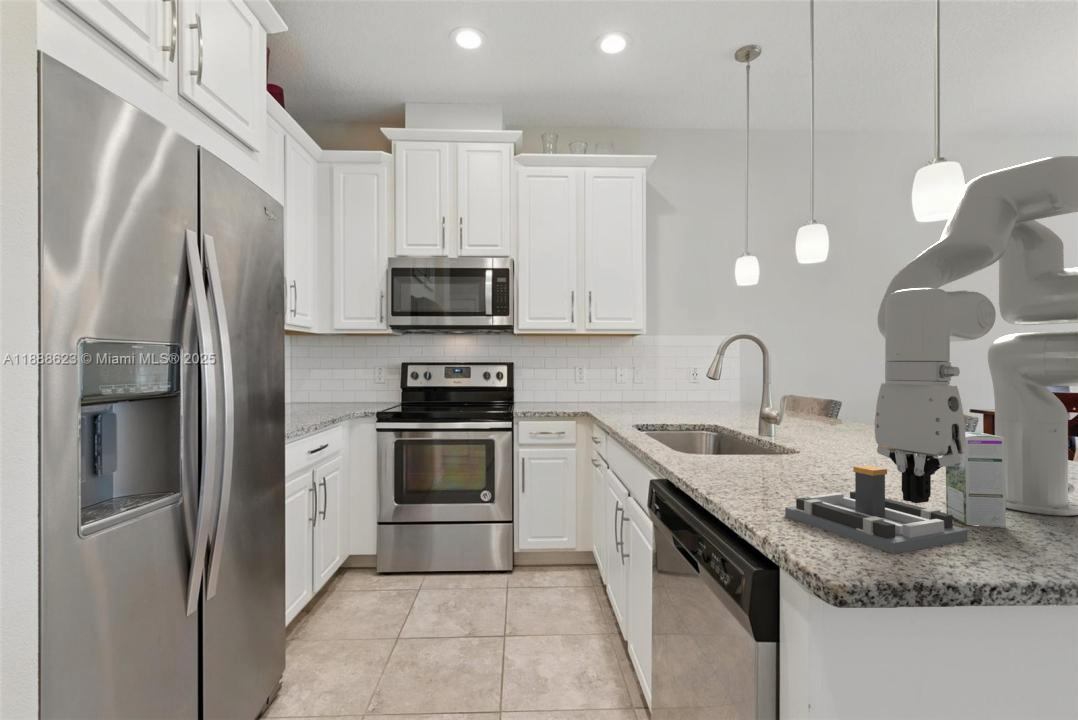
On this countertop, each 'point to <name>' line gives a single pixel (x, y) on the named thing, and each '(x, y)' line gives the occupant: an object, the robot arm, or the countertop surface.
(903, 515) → the breaker panel
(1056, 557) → the countertop surface
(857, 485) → the toggle knob
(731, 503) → the countertop surface
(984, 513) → the syrup box
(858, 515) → the pair of dark rails
